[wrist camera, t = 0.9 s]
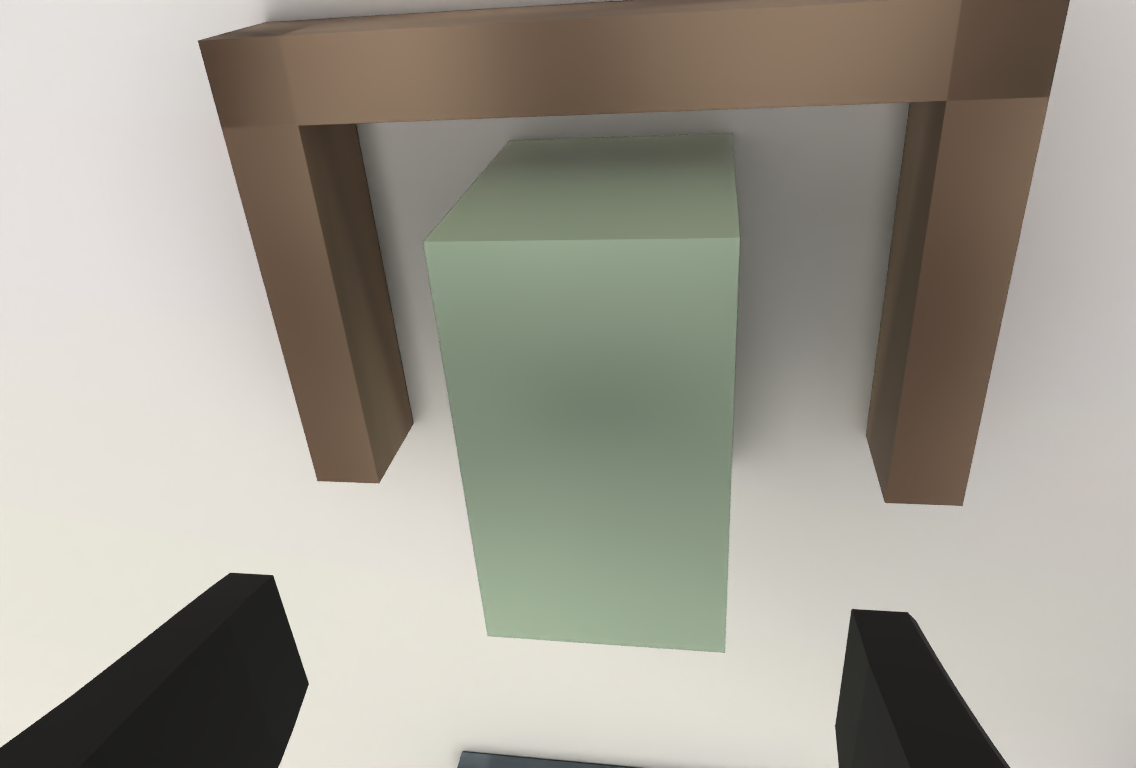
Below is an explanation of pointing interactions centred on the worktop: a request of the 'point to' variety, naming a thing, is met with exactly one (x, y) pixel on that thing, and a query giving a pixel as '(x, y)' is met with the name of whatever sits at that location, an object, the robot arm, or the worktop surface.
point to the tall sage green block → (595, 384)
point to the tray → (517, 762)
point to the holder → (633, 85)
